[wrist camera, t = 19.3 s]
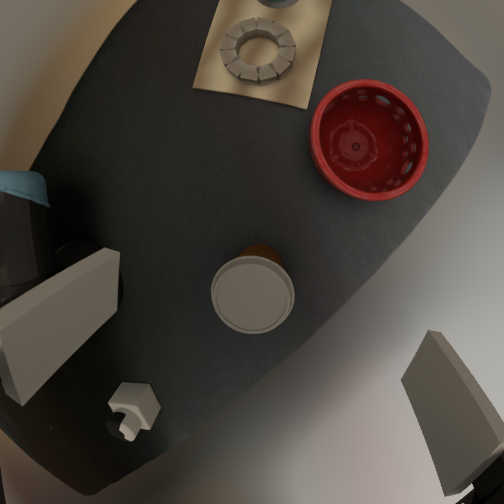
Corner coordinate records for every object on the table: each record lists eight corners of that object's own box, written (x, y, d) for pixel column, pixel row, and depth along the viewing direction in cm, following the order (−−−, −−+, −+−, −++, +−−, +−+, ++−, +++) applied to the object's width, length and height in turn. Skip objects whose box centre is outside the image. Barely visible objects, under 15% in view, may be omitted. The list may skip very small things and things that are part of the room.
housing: (194, 88, 38) (185, 82, 34) (235, -34, 31) (231, -47, 27) (306, 110, 37) (308, 105, 33) (335, -19, 30) (339, -31, 26)
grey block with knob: (134, 405, 57) (112, 442, 46) (121, 381, 55) (96, 418, 44) (161, 407, 56) (142, 447, 44) (149, 382, 54) (126, 423, 43)
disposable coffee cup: (299, 241, 43) (304, 270, 31) (284, 300, 45) (283, 345, 34) (233, 226, 43) (214, 250, 32) (223, 287, 46) (203, 326, 35)
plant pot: (410, 151, 37) (451, 149, 26) (348, 210, 41) (370, 229, 29) (349, 82, 35) (372, 54, 24) (283, 141, 39) (282, 132, 28)
